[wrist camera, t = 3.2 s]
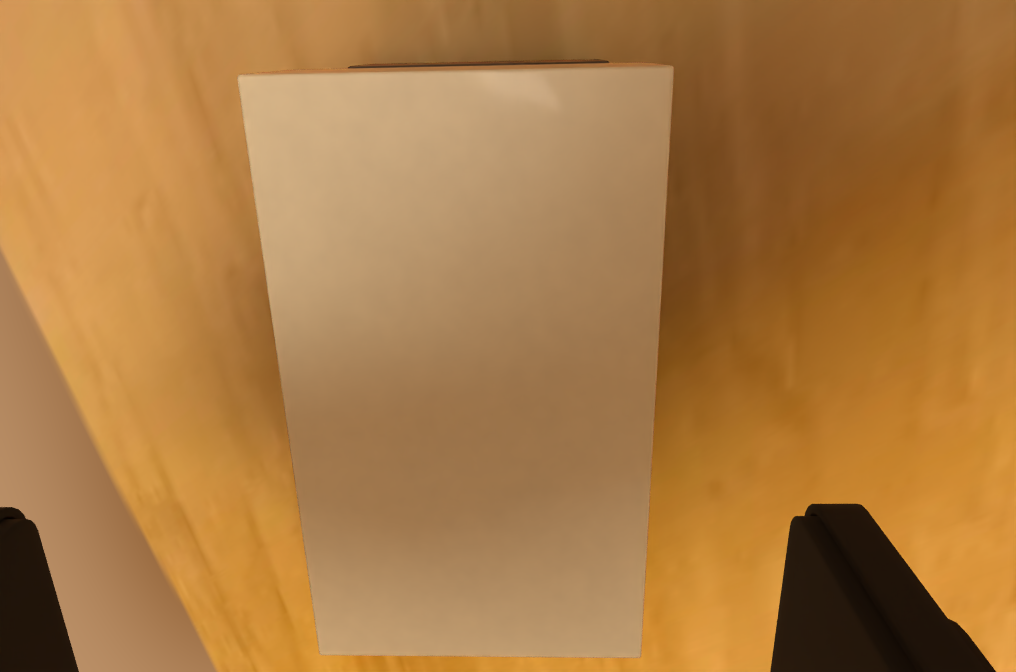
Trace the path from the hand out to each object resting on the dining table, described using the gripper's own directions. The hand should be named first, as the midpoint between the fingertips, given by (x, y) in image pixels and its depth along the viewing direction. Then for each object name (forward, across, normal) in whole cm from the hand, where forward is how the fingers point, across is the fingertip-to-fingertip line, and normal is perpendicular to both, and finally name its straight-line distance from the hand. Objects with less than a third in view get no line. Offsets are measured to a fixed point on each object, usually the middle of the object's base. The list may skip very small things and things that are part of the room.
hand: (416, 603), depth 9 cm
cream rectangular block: (+8, 0, 0) cm, 8 cm away
